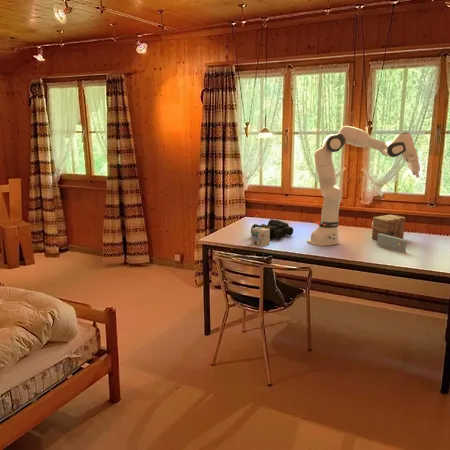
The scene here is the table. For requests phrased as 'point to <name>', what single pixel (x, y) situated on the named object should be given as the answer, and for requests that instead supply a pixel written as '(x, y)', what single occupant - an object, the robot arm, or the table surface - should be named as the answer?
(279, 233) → the binoculars
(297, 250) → the table surface
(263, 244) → the light bulb box
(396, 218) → the brown wooden crate
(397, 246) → the door
